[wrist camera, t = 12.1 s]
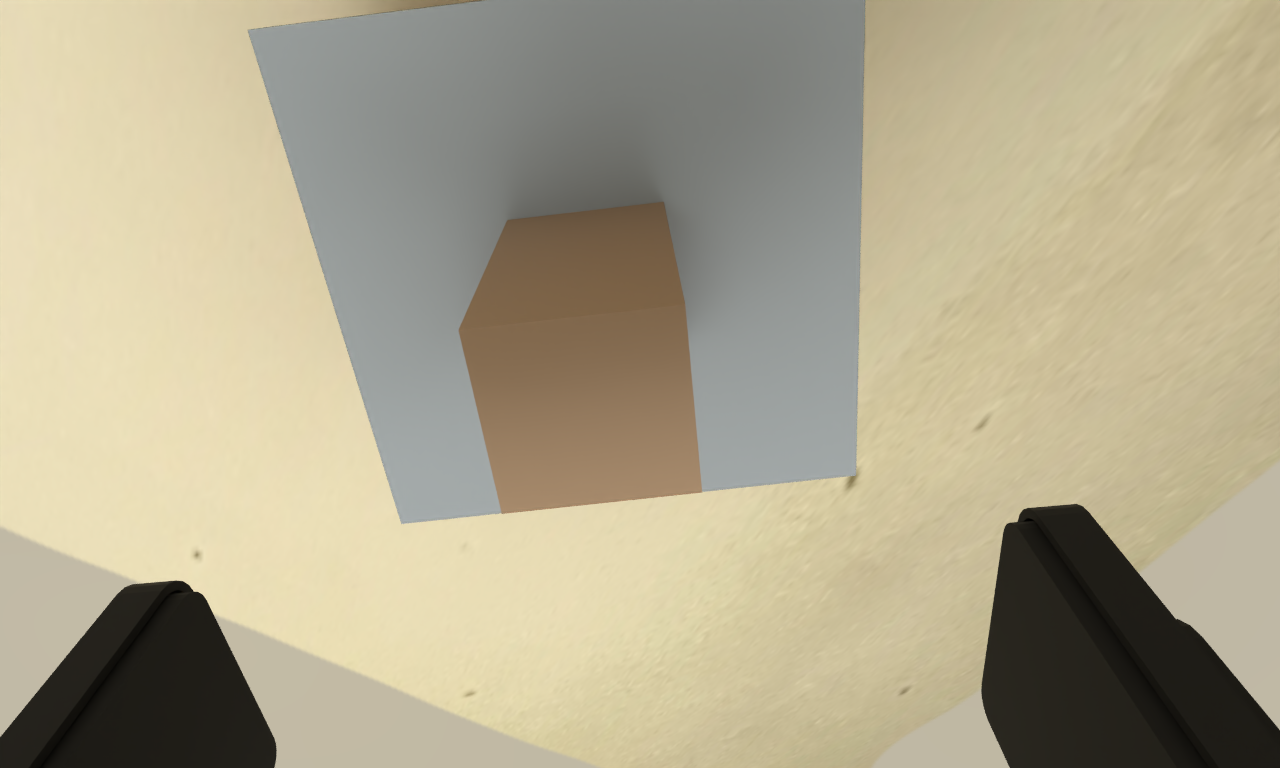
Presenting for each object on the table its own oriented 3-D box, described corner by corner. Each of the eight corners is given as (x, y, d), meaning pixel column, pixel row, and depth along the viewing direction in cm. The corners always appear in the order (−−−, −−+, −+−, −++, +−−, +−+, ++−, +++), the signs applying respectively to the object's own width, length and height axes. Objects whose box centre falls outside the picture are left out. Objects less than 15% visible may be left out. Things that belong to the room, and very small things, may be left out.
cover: (852, -47, 19) (1004, -59, 11) (845, 454, 25) (940, 650, 18) (268, 27, 19) (51, 59, 12) (410, 500, 25) (327, 712, 18)
